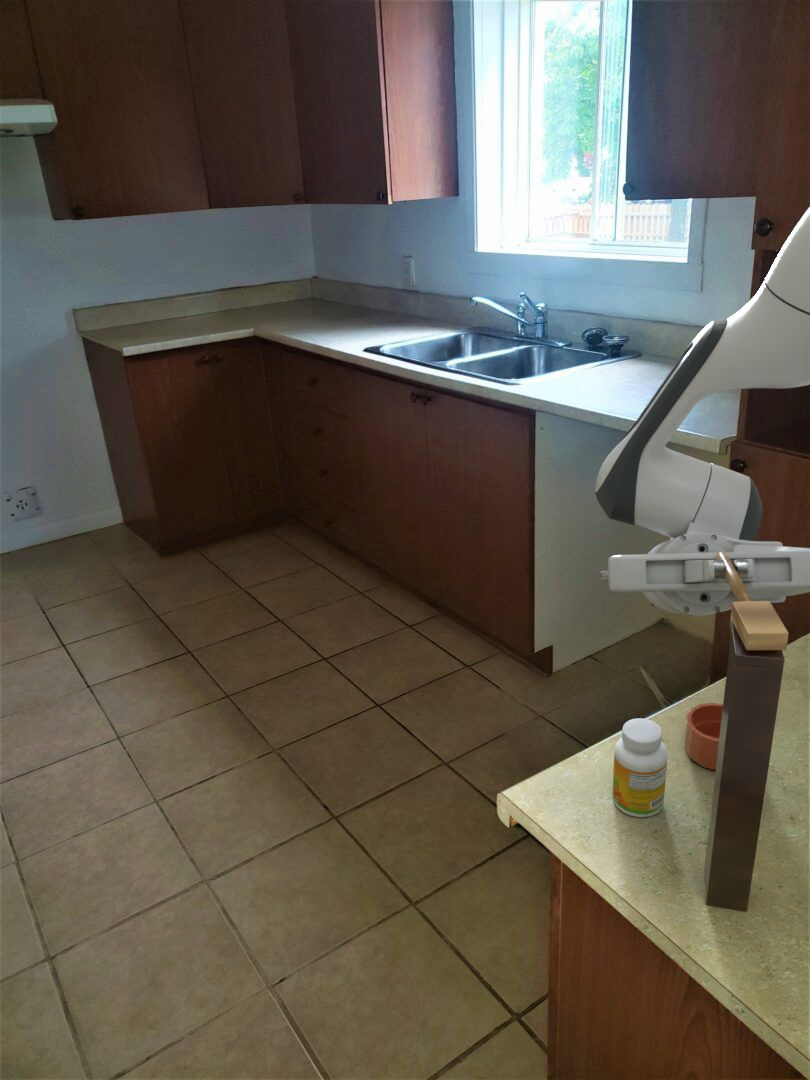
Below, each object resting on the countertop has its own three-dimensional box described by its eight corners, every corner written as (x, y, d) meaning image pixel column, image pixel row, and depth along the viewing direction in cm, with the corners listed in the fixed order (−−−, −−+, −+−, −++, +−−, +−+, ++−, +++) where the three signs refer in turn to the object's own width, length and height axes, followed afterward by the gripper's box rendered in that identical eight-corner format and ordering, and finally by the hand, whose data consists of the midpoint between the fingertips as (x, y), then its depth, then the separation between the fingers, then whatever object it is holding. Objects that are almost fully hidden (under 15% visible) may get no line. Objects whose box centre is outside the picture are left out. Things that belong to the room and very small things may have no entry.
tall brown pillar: (741, 861, 81) (775, 619, 69) (747, 911, 75) (784, 659, 63) (703, 856, 82) (730, 616, 70) (705, 905, 76) (735, 655, 64)
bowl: (745, 737, 97) (749, 706, 95) (750, 777, 91) (755, 745, 89) (683, 730, 99) (686, 700, 97) (684, 769, 93) (687, 737, 91)
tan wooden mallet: (786, 650, 64) (789, 633, 63) (746, 650, 64) (748, 633, 63) (736, 562, 77) (737, 546, 76) (703, 562, 77) (704, 547, 77)
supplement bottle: (611, 781, 92) (614, 712, 88) (661, 785, 91) (667, 715, 87) (612, 816, 87) (616, 744, 83) (665, 821, 86) (671, 748, 82)
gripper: (596, 547, 89) (611, 537, 75) (793, 542, 86) (847, 531, 72) (598, 605, 88) (614, 606, 74) (797, 601, 86) (851, 602, 72)
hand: (731, 569), depth 73 cm, fingers closed on tan wooden mallet, 1 cm apart
